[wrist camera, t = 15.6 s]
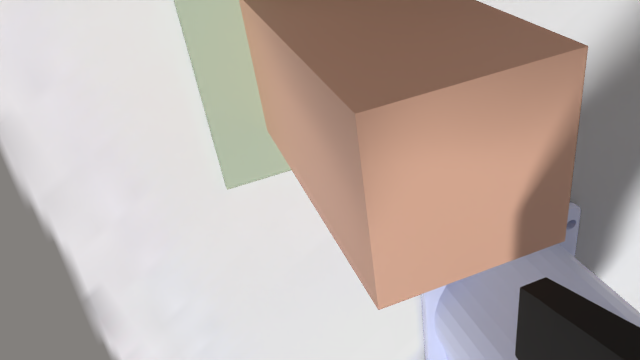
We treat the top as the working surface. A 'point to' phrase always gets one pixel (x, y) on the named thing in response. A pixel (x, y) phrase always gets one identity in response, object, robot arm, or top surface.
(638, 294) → the top surface
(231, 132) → the mat
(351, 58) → the terracotta block
